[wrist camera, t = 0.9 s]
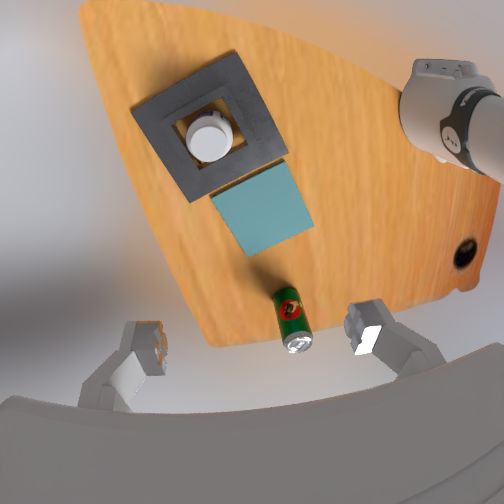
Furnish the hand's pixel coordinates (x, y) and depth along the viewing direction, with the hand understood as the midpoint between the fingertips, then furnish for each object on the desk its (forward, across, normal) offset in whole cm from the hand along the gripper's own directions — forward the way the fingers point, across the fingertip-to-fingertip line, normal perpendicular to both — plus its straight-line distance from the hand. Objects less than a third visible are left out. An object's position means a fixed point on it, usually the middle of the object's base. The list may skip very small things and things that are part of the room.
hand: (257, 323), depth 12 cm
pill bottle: (+32, +2, -3) cm, 32 cm away
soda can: (+32, -10, +28) cm, 44 cm away
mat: (+32, -5, +10) cm, 34 cm away
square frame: (+32, +2, -3) cm, 32 cm away
